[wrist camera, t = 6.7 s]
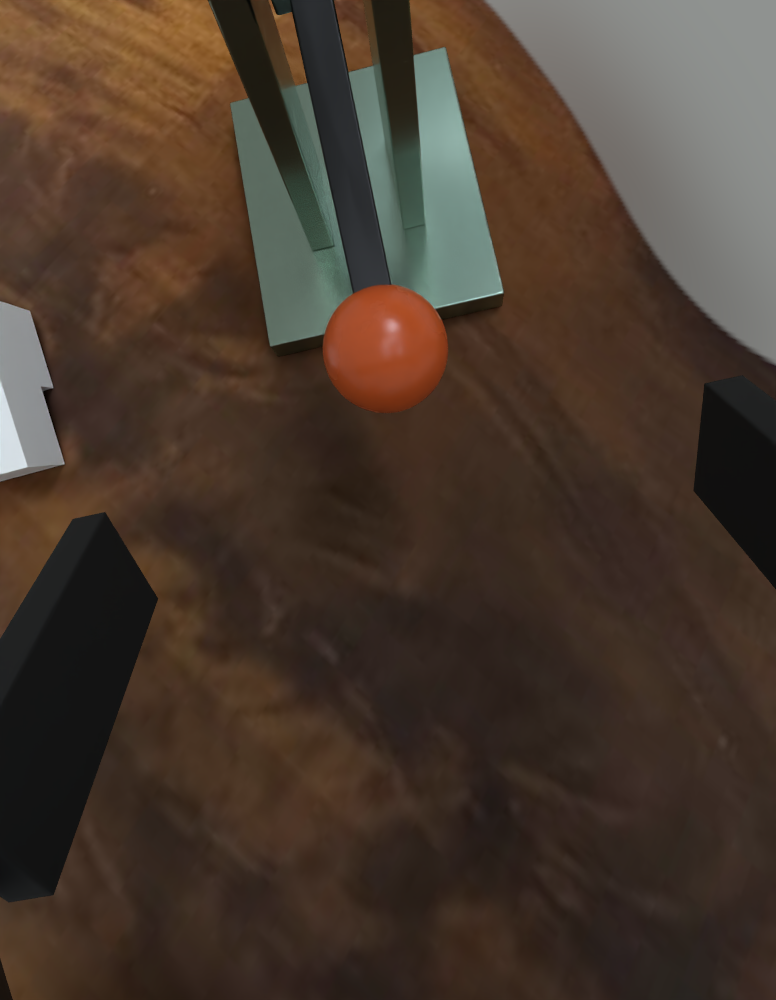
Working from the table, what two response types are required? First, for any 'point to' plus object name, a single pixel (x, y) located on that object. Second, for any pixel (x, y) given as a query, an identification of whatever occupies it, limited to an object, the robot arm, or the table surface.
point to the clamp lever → (363, 245)
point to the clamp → (392, 169)
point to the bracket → (24, 399)
